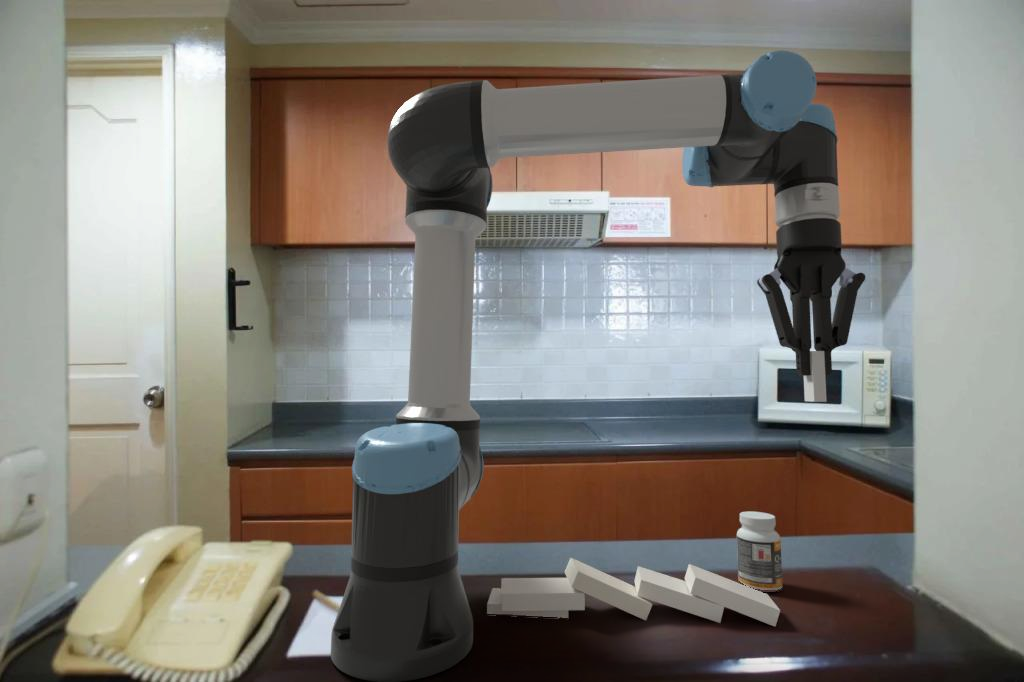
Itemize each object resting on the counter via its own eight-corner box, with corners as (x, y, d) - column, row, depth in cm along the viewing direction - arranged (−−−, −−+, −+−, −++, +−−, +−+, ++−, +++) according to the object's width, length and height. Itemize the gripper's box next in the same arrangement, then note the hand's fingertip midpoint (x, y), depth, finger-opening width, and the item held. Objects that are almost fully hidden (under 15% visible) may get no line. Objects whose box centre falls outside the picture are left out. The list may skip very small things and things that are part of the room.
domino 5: (775, 626, 61) (690, 593, 63) (762, 609, 66) (684, 578, 68) (780, 610, 61) (695, 577, 63) (767, 594, 66) (689, 563, 68)
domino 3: (645, 620, 63) (571, 587, 62) (633, 603, 68) (564, 572, 67) (652, 604, 63) (578, 571, 63) (639, 588, 68) (570, 557, 68)
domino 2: (584, 610, 62) (502, 610, 62) (578, 593, 67) (501, 594, 67) (584, 592, 63) (502, 593, 62) (577, 577, 68) (501, 578, 67)
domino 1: (568, 624, 63) (487, 620, 64) (567, 607, 68) (492, 603, 69) (568, 607, 63) (487, 603, 64) (567, 591, 68) (492, 588, 69)
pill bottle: (788, 596, 70) (785, 521, 71) (743, 592, 71) (740, 518, 72) (775, 580, 76) (773, 511, 77) (734, 577, 77) (732, 509, 78)
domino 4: (720, 623, 62) (637, 595, 64) (711, 605, 67) (634, 580, 69) (724, 606, 62) (641, 579, 64) (714, 590, 67) (637, 566, 69)
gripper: (767, 216, 66) (774, 402, 64) (875, 213, 65) (886, 402, 63) (747, 233, 74) (752, 400, 72) (844, 231, 72) (853, 401, 70)
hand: (815, 401), depth 67 cm, fingers closed
